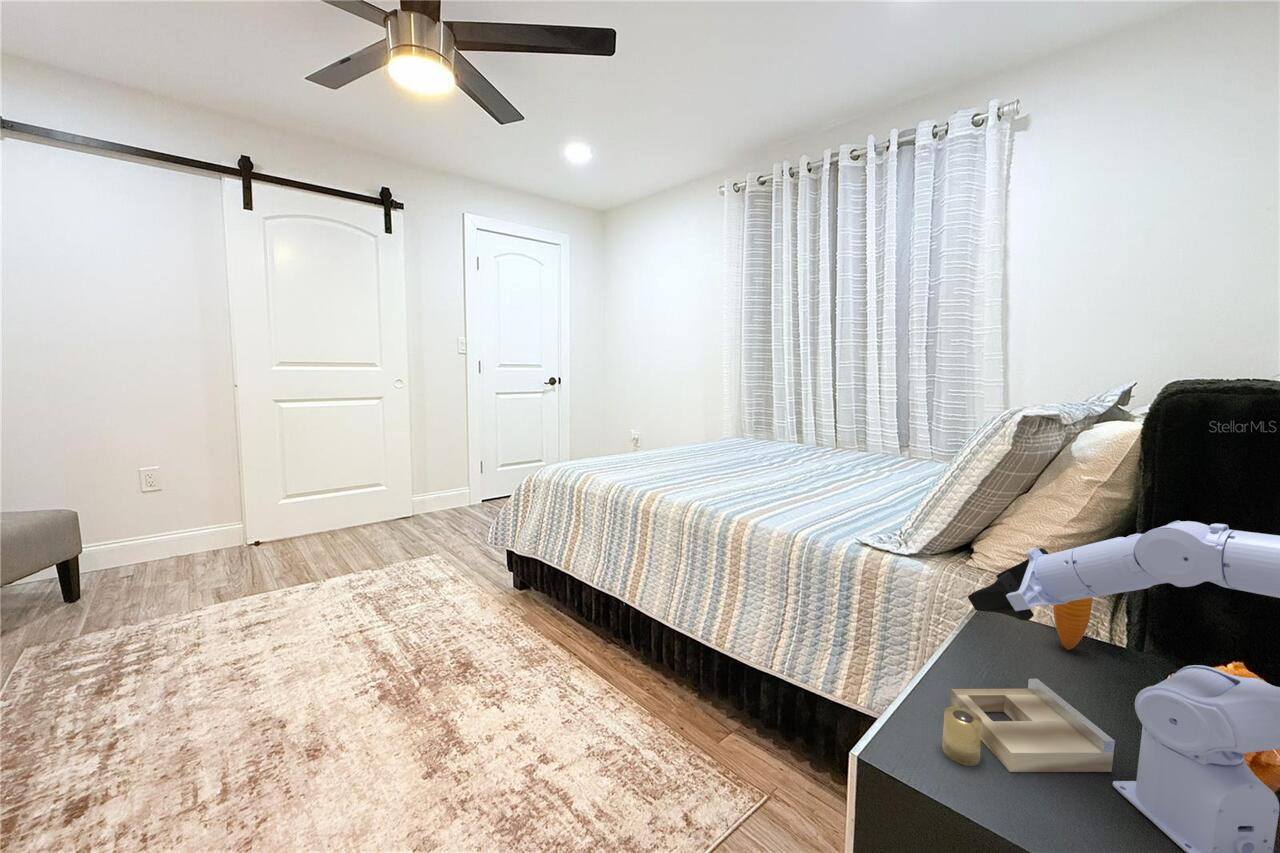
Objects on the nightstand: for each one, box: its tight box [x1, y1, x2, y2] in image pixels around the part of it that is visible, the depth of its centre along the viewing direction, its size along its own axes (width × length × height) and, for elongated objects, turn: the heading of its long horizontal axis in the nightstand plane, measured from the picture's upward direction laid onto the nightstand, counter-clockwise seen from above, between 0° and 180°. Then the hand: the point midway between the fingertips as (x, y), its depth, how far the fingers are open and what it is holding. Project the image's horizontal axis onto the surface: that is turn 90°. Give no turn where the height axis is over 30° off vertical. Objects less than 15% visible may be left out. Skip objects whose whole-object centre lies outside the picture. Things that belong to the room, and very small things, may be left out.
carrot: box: [1053, 597, 1094, 651], centre depth 85 cm, size 5×5×15 cm
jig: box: [949, 678, 1116, 773], centre depth 66 cm, size 12×12×4 cm
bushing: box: [941, 705, 983, 767], centre depth 64 cm, size 4×4×5 cm
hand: (987, 591), depth 72 cm, fingers open, 7 cm apart
